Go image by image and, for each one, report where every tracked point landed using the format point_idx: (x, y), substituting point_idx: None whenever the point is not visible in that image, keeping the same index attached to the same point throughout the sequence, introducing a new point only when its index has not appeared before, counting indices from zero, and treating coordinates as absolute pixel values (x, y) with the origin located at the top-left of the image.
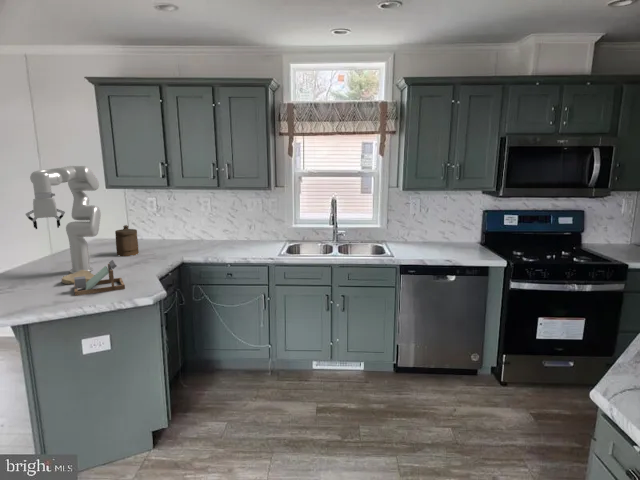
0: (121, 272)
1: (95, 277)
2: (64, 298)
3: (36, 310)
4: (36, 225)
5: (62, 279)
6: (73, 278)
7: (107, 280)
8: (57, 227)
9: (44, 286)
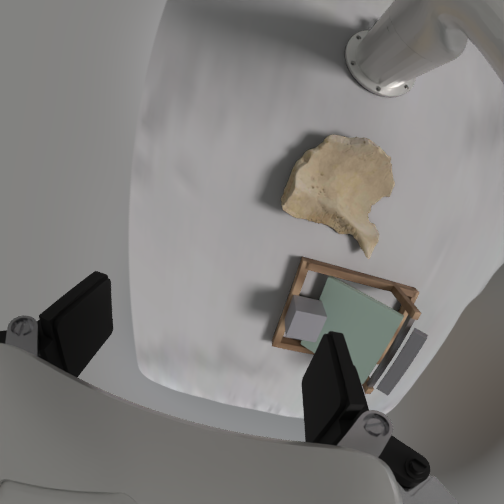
0: (459, 189)
1: (349, 326)
2: (245, 341)
3: (183, 371)
4: (91, 354)
5: (283, 208)
6: (321, 204)
7: (386, 289)
8: (303, 379)
9: (231, 174)
